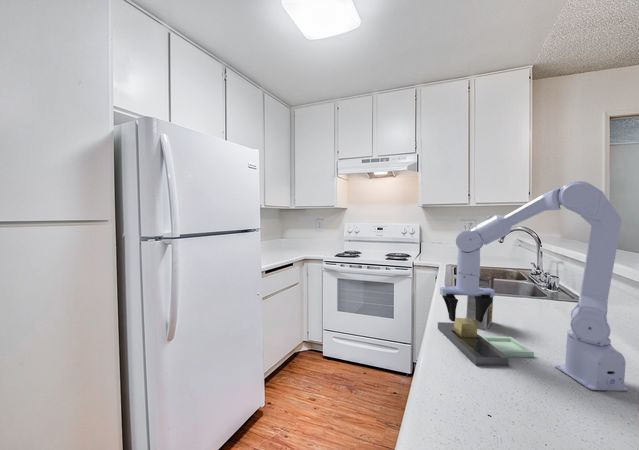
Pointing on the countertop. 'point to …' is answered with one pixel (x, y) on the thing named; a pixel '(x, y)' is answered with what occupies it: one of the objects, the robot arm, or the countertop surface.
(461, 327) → the brass cube
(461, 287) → the robot arm
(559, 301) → the countertop surface
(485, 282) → the coffee box
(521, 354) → the tray
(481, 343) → the grey flat long piece
